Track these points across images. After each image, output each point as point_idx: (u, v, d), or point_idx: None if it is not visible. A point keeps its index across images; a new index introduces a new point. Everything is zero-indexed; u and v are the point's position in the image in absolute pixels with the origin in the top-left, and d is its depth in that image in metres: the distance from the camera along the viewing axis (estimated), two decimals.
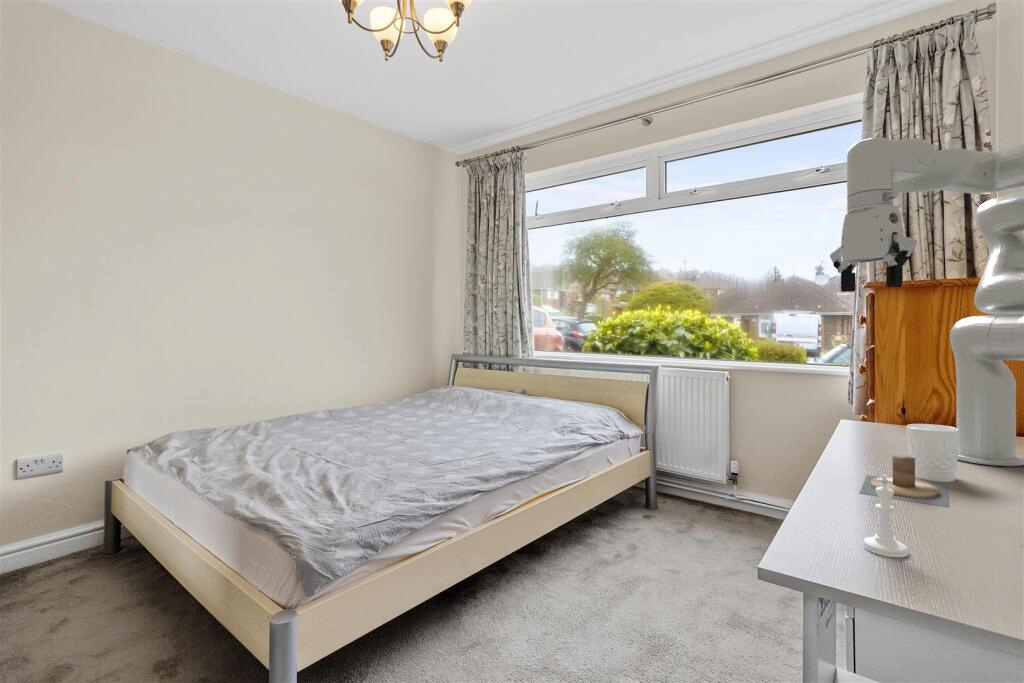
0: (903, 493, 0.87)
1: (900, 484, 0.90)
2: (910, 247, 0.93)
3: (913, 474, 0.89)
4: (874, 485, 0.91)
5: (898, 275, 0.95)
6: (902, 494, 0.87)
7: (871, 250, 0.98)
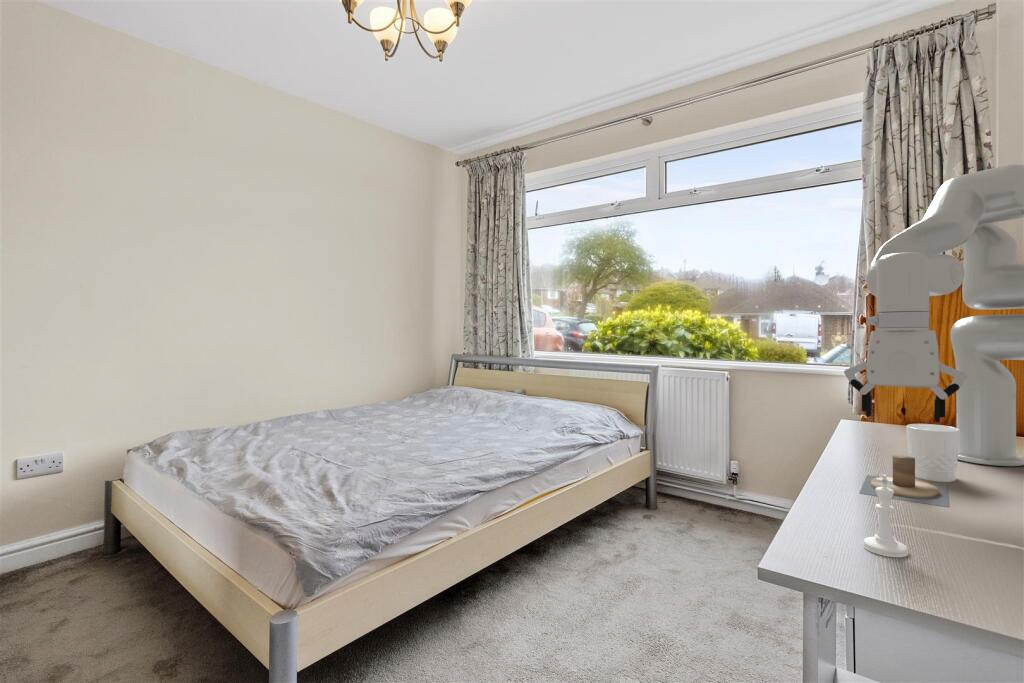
0: (903, 493, 0.87)
1: (900, 484, 0.90)
2: None
3: (913, 474, 0.89)
4: (874, 485, 0.91)
5: None
6: (902, 494, 0.87)
7: None
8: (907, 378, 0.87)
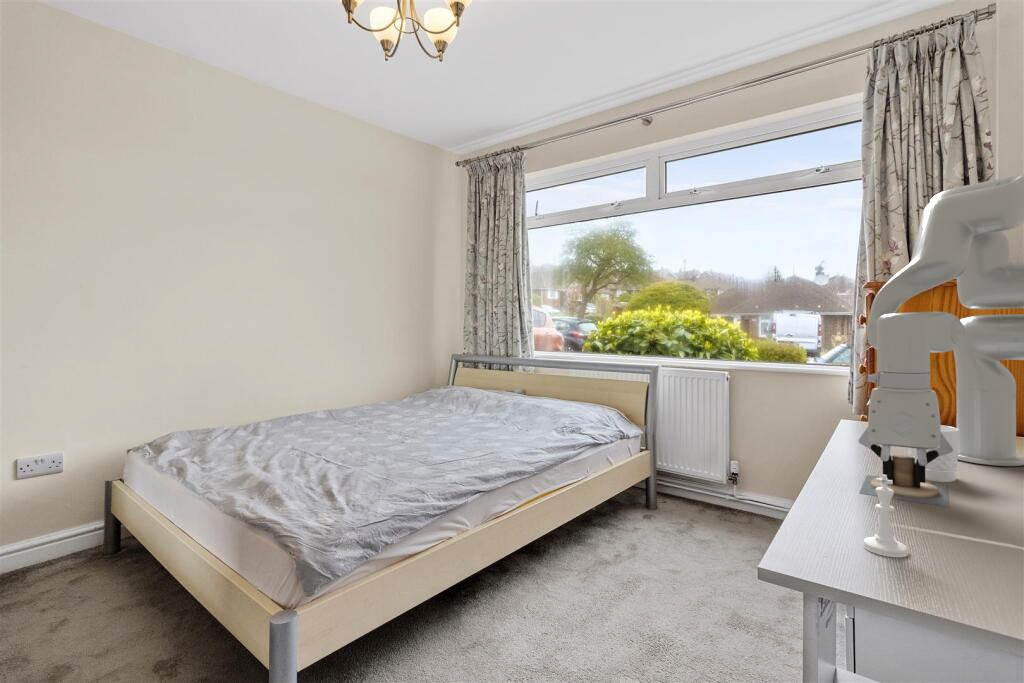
0: (903, 493, 0.87)
1: (900, 484, 0.90)
2: None
3: (913, 474, 0.89)
4: (874, 485, 0.91)
5: None
6: (902, 494, 0.87)
7: None
8: (908, 439, 0.88)
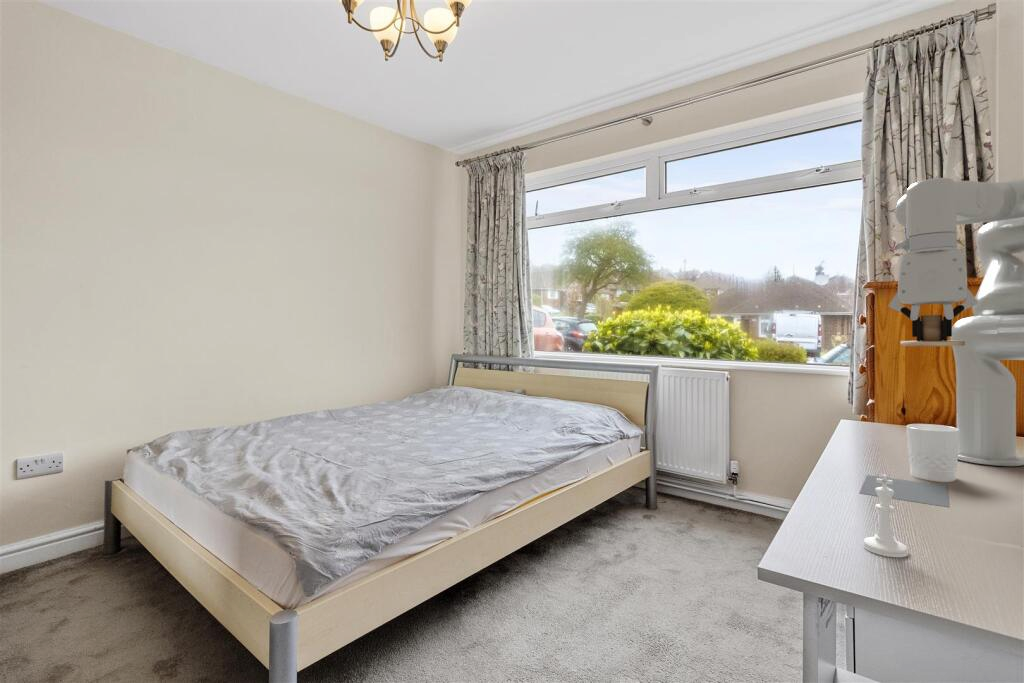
0: (932, 343, 0.94)
1: (928, 339, 0.97)
2: None
3: (941, 329, 0.96)
4: (904, 342, 0.98)
5: None
6: (931, 344, 0.94)
7: None
8: (937, 295, 0.95)
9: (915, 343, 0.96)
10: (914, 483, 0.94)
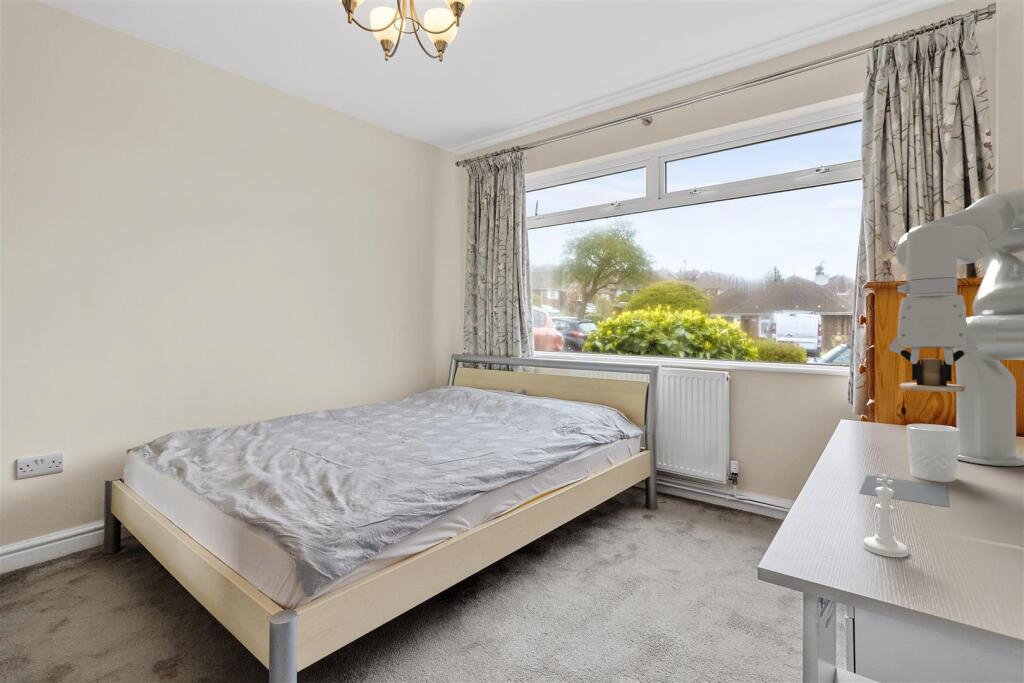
0: (932, 388, 0.94)
1: (928, 383, 0.97)
2: None
3: (940, 373, 0.96)
4: (904, 386, 0.98)
5: None
6: (931, 389, 0.94)
7: None
8: (937, 340, 0.95)
9: (915, 387, 0.96)
10: (914, 483, 0.94)
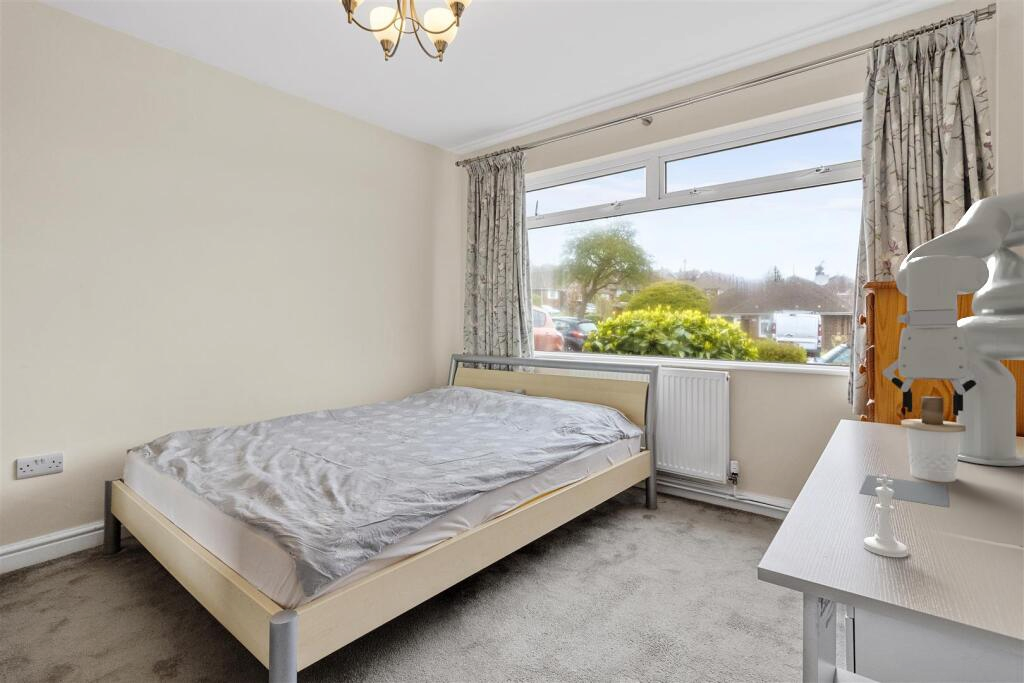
0: (933, 428, 0.94)
1: (929, 422, 0.97)
2: None
3: (941, 412, 0.96)
4: (905, 424, 0.99)
5: None
6: (932, 429, 0.94)
7: None
8: (937, 371, 0.95)
9: (916, 427, 0.96)
10: (914, 483, 0.94)
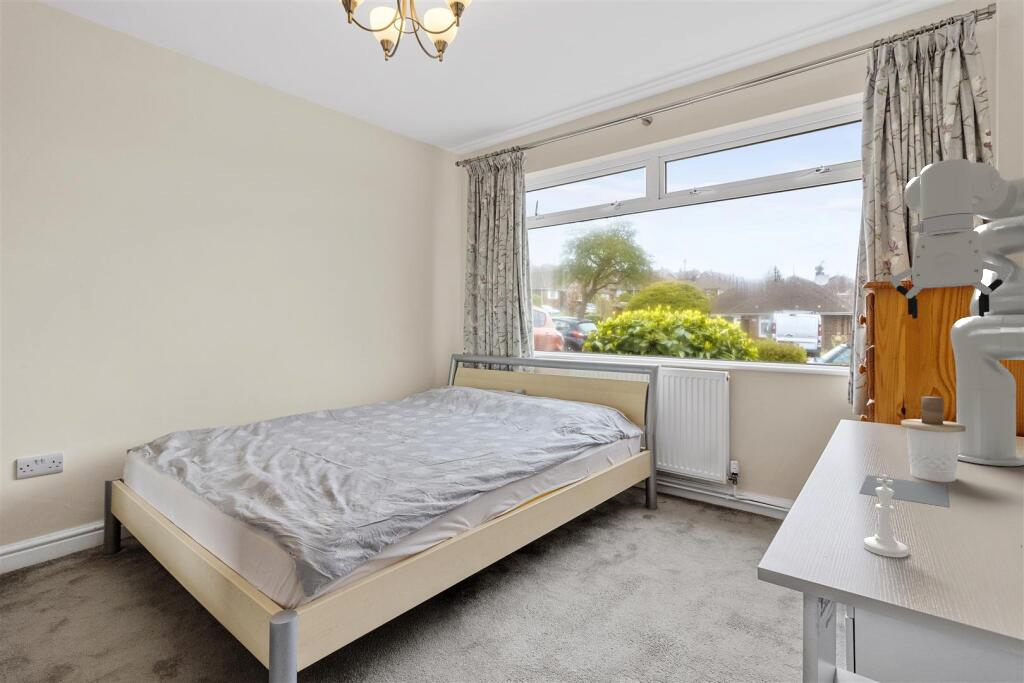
0: (933, 428, 0.94)
1: (929, 422, 0.97)
2: None
3: (941, 412, 0.96)
4: (904, 424, 0.99)
5: None
6: (932, 429, 0.94)
7: None
8: (952, 277, 0.94)
9: (915, 427, 0.96)
10: (914, 483, 0.94)
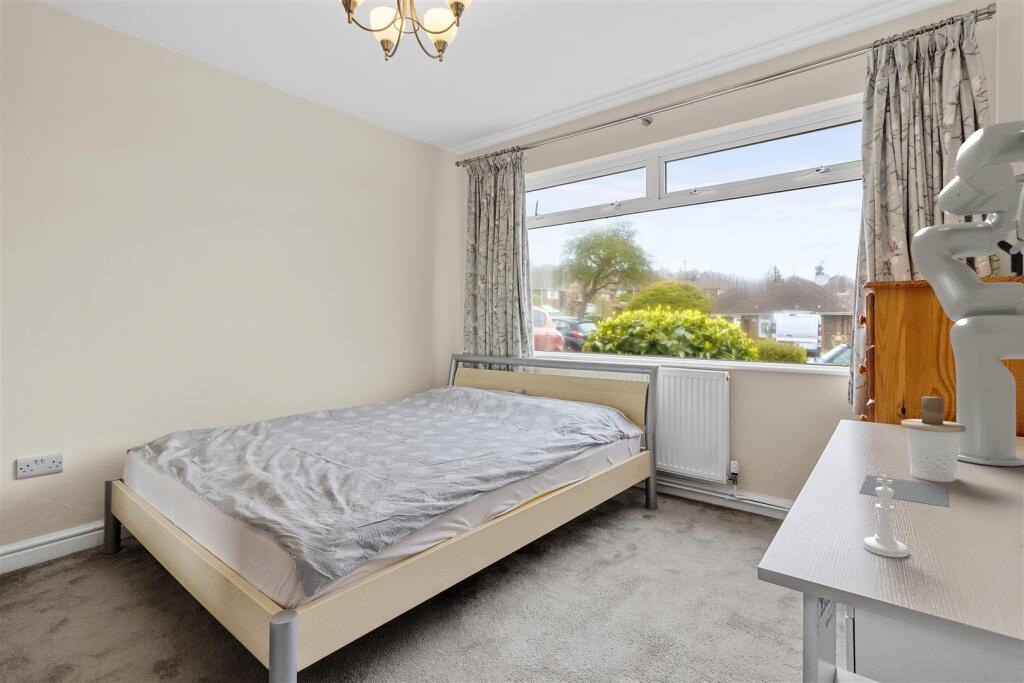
0: (933, 428, 0.94)
1: (929, 422, 0.97)
2: (993, 240, 0.93)
3: (941, 412, 0.96)
4: (905, 424, 0.99)
5: (1010, 265, 0.92)
6: (932, 429, 0.94)
7: None
8: None
9: (916, 427, 0.96)
10: (914, 483, 0.94)
